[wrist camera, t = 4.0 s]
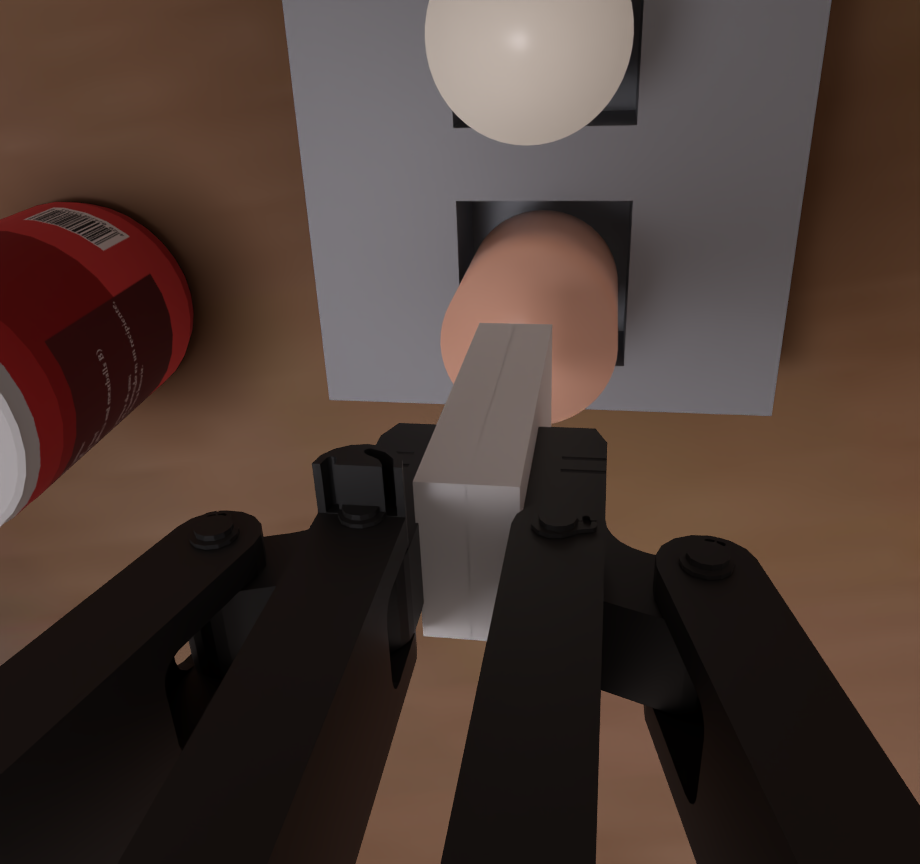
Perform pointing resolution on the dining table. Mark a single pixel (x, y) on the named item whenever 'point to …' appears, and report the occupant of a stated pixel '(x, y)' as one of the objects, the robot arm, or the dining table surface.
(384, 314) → the console
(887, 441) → the dining table surface
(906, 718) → the dining table surface
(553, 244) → the button terracotta
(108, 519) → the dining table surface
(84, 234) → the canned food
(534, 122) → the button cream
